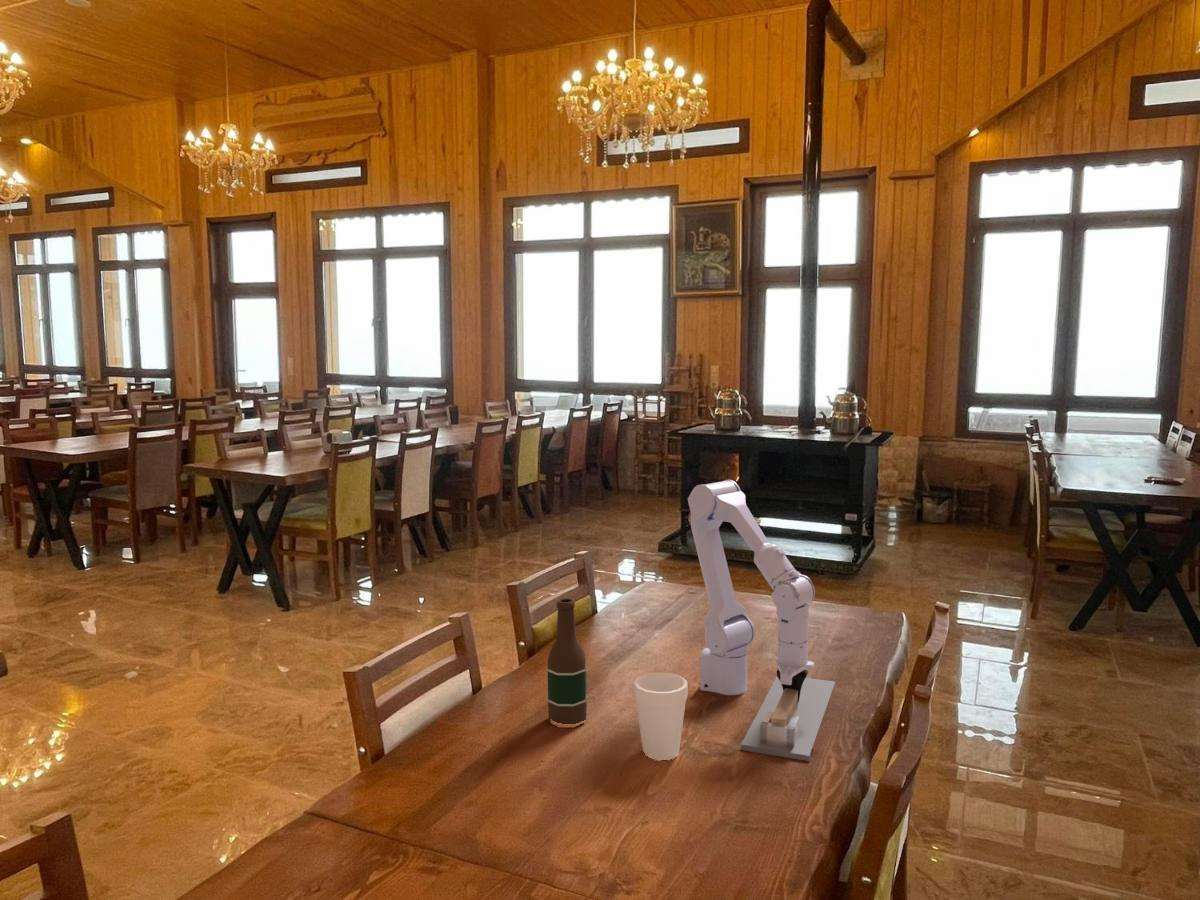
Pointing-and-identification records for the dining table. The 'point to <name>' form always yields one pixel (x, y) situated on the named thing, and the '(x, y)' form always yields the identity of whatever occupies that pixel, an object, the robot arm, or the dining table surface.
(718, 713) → the dining table surface
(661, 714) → the foam cup
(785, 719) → the birch slat
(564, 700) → the beer bottle
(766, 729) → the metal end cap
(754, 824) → the dining table surface
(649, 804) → the dining table surface
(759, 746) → the assembly board
